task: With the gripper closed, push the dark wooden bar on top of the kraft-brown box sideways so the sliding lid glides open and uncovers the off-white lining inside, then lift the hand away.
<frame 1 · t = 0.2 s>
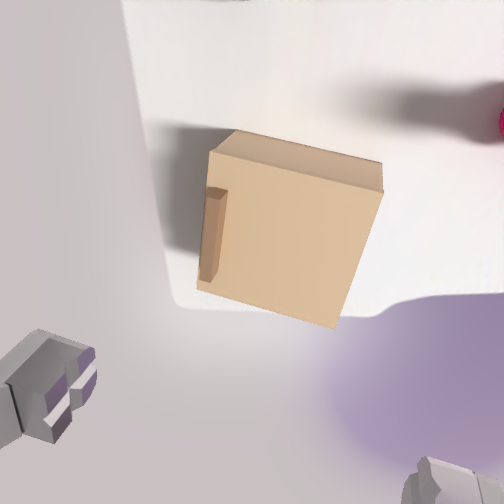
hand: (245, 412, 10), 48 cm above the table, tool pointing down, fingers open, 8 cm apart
box: (292, 211, 59), on the table
lid: (275, 251, 49), point 12 cm above the table, slide at 0.0 cm
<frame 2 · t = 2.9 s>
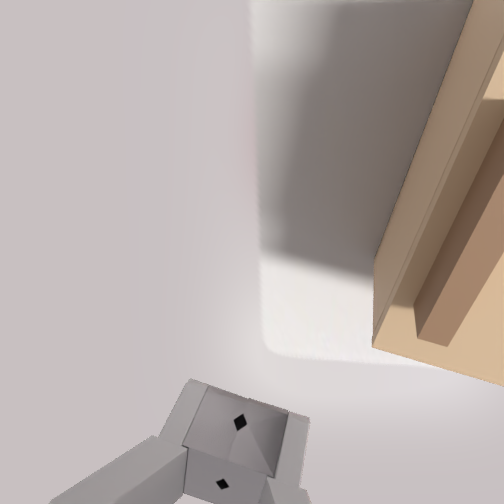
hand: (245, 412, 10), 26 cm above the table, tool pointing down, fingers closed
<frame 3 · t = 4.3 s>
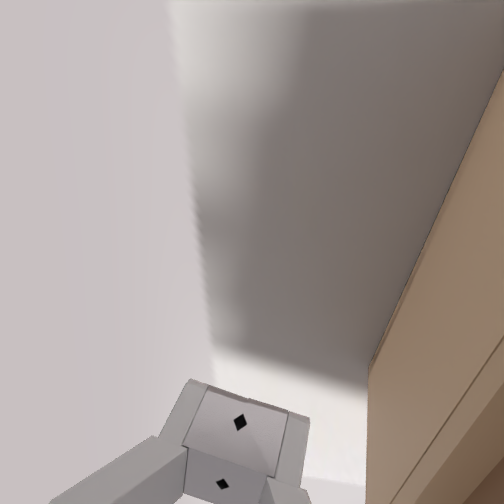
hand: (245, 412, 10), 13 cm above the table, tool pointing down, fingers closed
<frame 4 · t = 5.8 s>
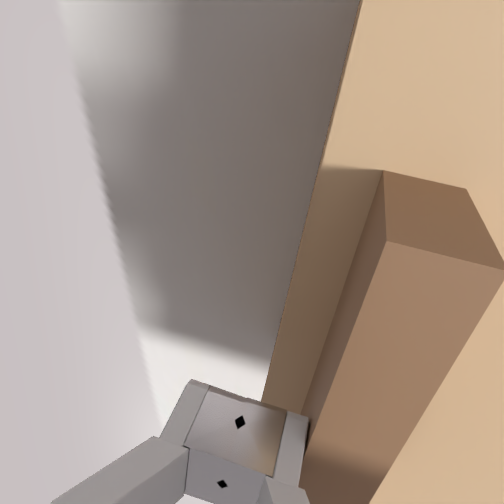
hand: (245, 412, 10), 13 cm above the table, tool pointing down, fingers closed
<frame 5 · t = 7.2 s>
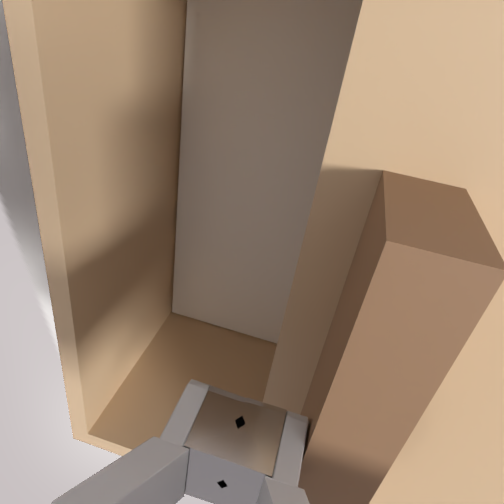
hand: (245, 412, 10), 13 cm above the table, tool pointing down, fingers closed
box: (354, 214, 20), on the table
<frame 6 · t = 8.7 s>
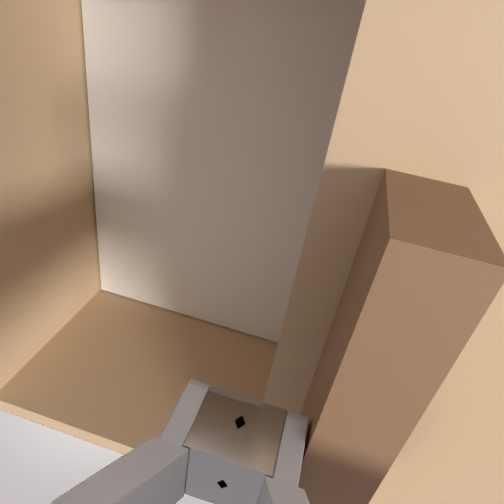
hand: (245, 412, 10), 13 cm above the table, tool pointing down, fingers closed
box: (259, 190, 21), on the table
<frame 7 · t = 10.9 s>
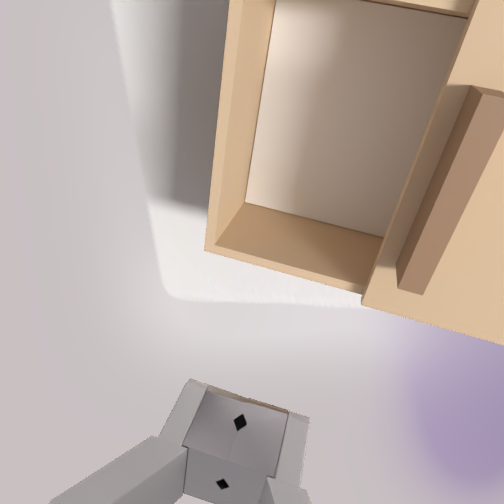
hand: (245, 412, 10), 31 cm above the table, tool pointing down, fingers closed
box: (362, 128, 35), on the table
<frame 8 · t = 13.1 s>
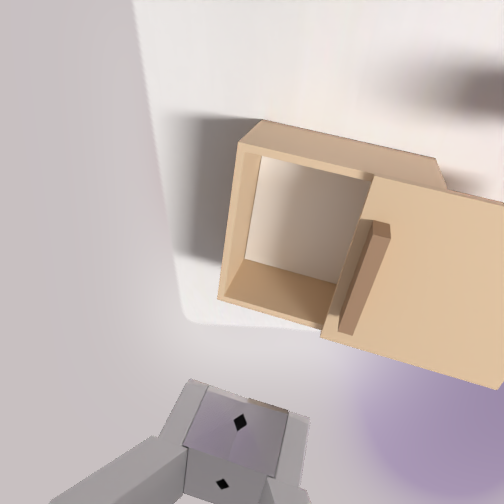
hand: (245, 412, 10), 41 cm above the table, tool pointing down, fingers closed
box: (324, 215, 51), on the table
lid: (443, 299, 39), point 12 cm above the table, slide at 13.2 cm
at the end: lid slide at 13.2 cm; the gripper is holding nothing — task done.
